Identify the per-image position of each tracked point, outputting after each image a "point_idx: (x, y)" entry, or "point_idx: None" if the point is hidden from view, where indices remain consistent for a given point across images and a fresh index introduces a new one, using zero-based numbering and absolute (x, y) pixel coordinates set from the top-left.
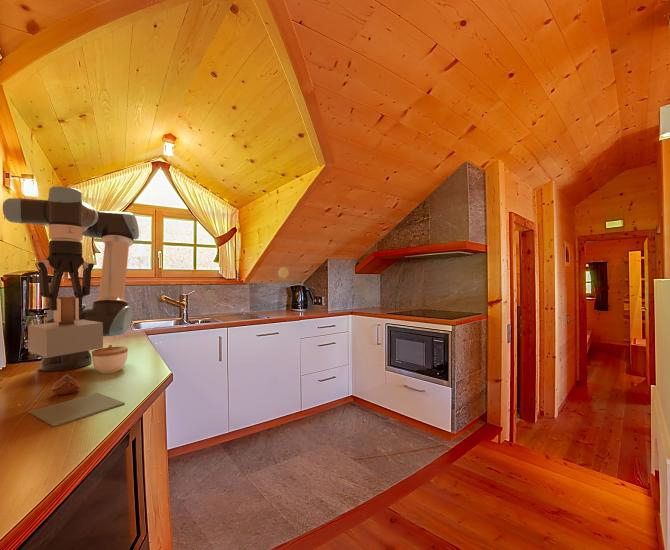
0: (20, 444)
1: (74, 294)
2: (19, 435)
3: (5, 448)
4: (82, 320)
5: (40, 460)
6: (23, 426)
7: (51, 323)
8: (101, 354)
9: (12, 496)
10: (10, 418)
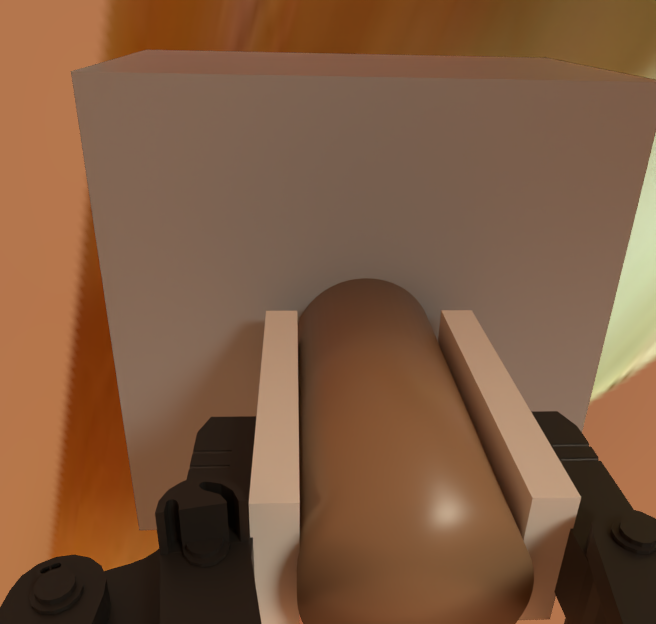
0: (82, 538)
1: (600, 562)
2: (89, 482)
3: (52, 534)
4: (599, 189)
5: None
6: (109, 424)
7: (289, 158)
8: None
9: None
10: (90, 311)
